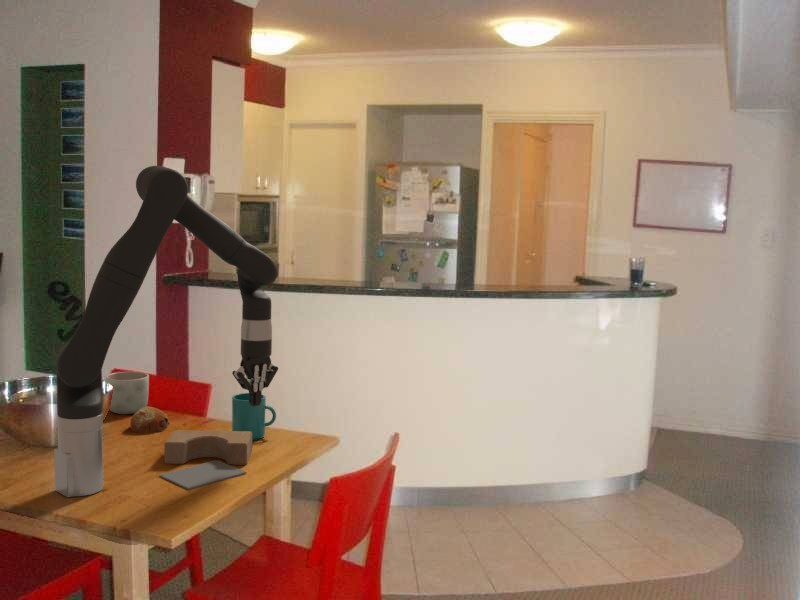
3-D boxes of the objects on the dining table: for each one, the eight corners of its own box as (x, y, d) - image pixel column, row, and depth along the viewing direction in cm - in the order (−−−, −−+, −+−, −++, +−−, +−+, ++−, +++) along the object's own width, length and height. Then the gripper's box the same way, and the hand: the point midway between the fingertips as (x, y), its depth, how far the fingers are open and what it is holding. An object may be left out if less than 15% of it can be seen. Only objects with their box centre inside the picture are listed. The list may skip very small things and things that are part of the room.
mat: (188, 489, 181) (188, 488, 181) (159, 476, 189) (159, 474, 189) (246, 473, 193) (246, 471, 193) (216, 461, 201) (216, 460, 201)
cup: (274, 441, 219) (275, 401, 218) (229, 441, 218) (229, 400, 217) (277, 432, 228) (277, 393, 227) (234, 431, 227) (234, 392, 226)
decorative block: (246, 443, 198) (163, 442, 197) (246, 466, 199) (164, 465, 198) (252, 430, 209) (174, 429, 208) (252, 451, 210) (174, 450, 209)
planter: (156, 407, 250) (156, 373, 248) (136, 418, 237) (136, 381, 236) (119, 404, 252) (119, 370, 250) (97, 414, 240) (97, 378, 238)
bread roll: (141, 435, 233) (129, 411, 232) (174, 420, 233) (162, 396, 232) (134, 446, 223) (121, 420, 222) (168, 430, 224) (156, 405, 222)
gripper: (243, 341, 191) (242, 413, 193) (287, 336, 201) (285, 404, 203) (224, 337, 196) (223, 406, 198) (267, 332, 206) (266, 398, 208)
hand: (255, 405), depth 201 cm, fingers closed
